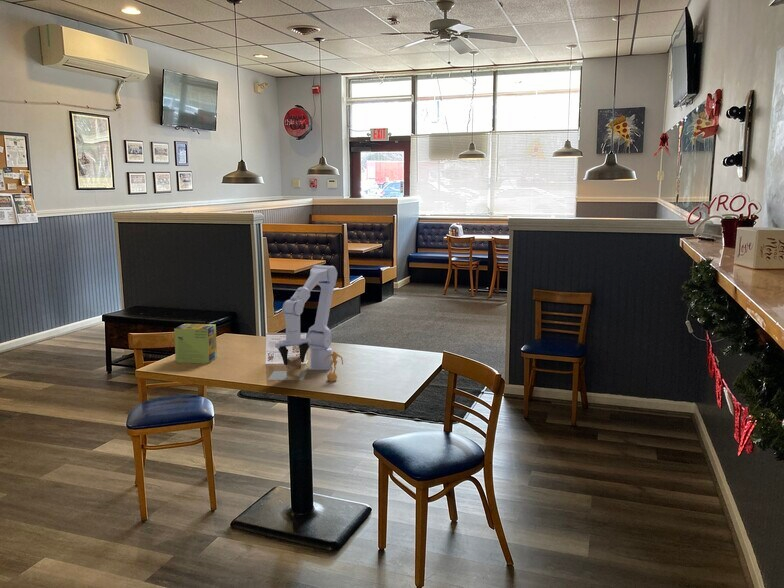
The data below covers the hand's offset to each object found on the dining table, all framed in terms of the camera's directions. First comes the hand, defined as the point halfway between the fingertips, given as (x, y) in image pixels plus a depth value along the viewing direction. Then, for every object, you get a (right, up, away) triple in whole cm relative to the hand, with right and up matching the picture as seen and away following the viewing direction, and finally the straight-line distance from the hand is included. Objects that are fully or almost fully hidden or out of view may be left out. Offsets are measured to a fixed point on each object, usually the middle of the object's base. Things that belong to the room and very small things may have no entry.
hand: (293, 363), depth 245 cm
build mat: (-3, -6, +4) cm, 8 cm away
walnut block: (0, -2, 0) cm, 2 cm away
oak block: (0, -6, +1) cm, 6 cm away
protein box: (-48, -2, +28) cm, 56 cm away
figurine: (+16, -7, -1) cm, 18 cm away
